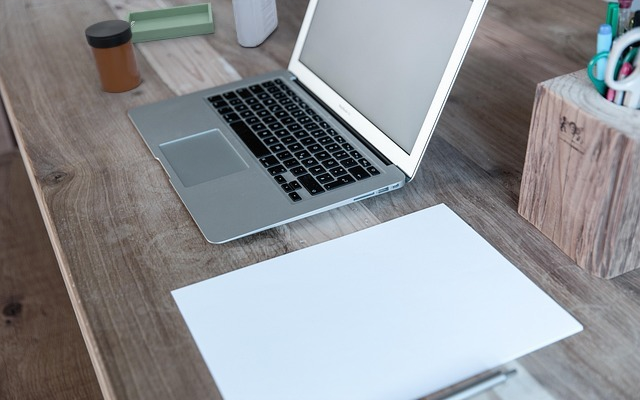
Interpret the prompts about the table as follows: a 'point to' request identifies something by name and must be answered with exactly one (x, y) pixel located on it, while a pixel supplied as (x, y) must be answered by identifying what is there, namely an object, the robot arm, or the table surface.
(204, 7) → the tray
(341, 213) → the table surface
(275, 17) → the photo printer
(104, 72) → the jar
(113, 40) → the lid
